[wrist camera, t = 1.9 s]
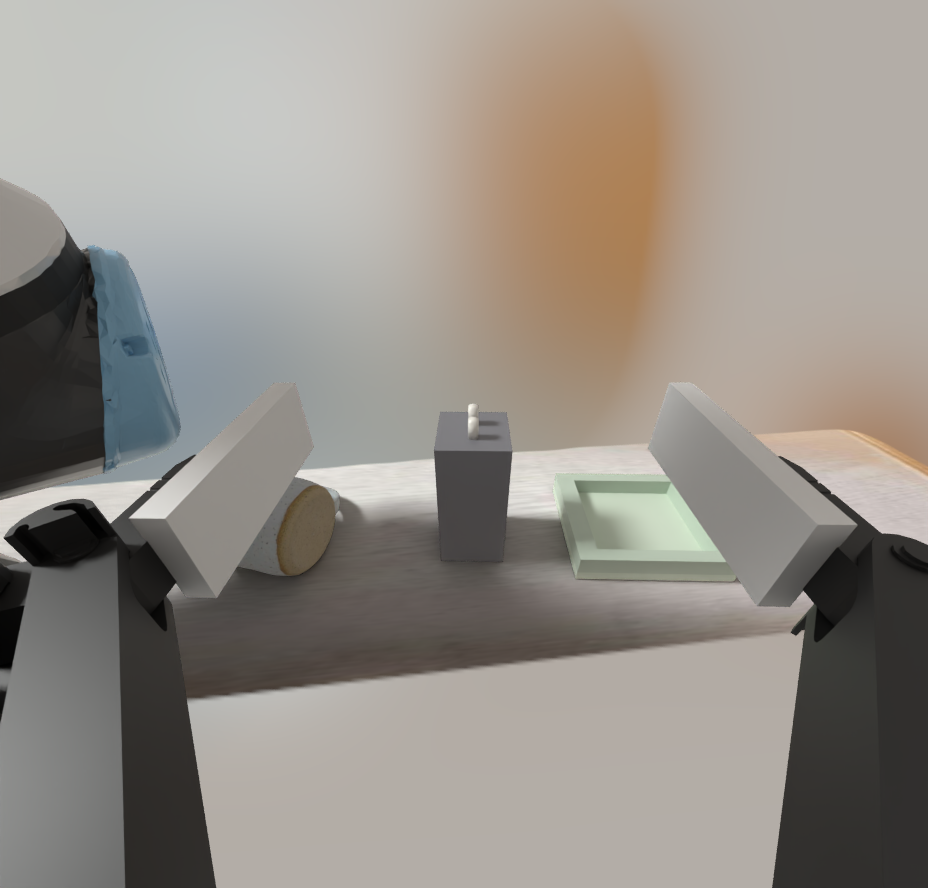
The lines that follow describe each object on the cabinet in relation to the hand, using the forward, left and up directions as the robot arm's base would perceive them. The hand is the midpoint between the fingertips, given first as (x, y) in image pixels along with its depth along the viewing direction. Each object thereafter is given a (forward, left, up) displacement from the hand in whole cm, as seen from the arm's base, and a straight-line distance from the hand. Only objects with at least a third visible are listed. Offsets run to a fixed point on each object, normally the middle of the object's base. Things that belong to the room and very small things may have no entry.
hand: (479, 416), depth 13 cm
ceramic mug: (-16, +10, -18) cm, 26 cm away
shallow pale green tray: (+14, +11, -18) cm, 25 cm away
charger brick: (0, +10, -18) cm, 21 cm away
